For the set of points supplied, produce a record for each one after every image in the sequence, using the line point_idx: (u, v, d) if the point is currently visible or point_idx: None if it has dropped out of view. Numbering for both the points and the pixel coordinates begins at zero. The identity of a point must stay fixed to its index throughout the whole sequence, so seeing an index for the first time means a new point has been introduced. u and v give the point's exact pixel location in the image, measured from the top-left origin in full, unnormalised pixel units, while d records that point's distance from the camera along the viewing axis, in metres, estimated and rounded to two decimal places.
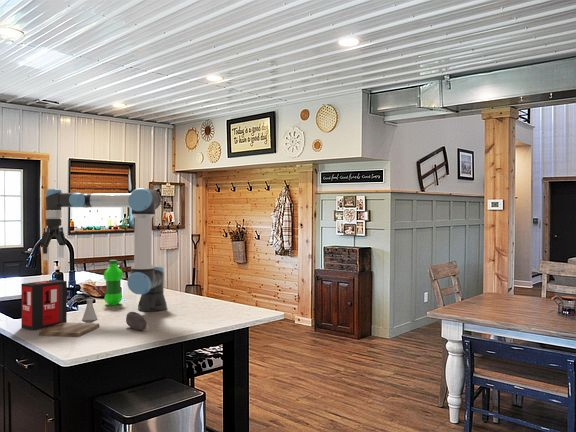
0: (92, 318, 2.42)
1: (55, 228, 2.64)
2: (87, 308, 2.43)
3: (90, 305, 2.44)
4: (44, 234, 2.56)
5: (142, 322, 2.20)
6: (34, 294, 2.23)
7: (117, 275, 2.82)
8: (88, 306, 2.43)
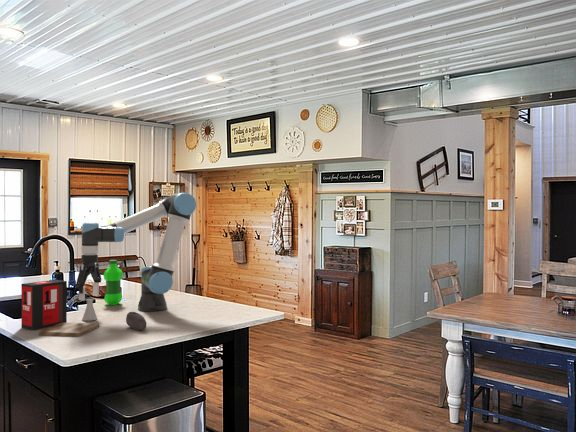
0: (92, 318, 2.42)
1: (91, 265, 2.44)
2: (87, 308, 2.43)
3: (90, 305, 2.44)
4: (80, 272, 2.37)
5: (142, 322, 2.20)
6: (34, 294, 2.23)
7: (117, 275, 2.82)
8: (88, 306, 2.43)
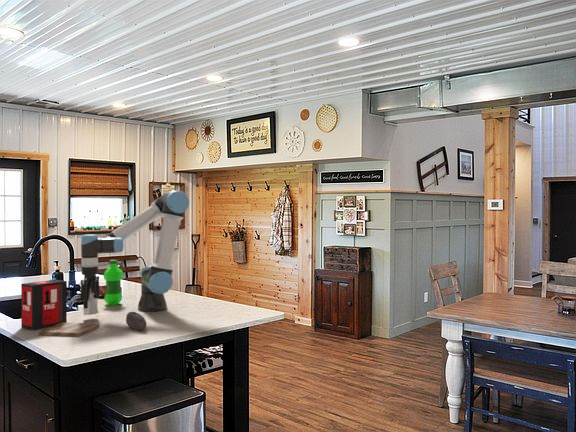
0: (93, 312, 2.43)
1: (92, 277, 2.44)
2: None
3: (91, 299, 2.44)
4: (82, 287, 2.38)
5: (142, 322, 2.20)
6: (34, 294, 2.23)
7: (117, 275, 2.82)
8: (89, 300, 2.43)
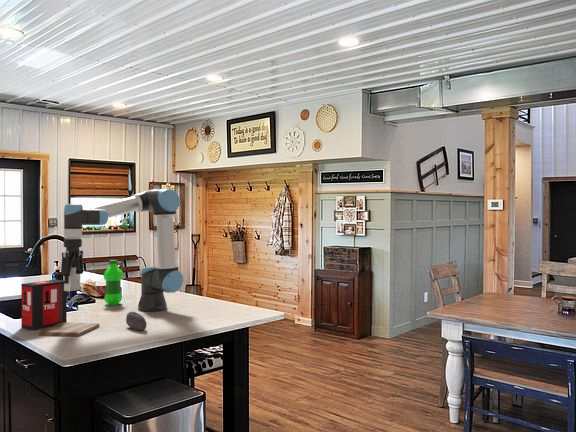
0: (75, 288, 2.22)
1: (74, 250, 2.25)
2: None
3: (73, 274, 2.24)
4: (63, 260, 2.18)
5: (142, 322, 2.20)
6: (34, 294, 2.23)
7: (117, 275, 2.82)
8: (71, 275, 2.23)
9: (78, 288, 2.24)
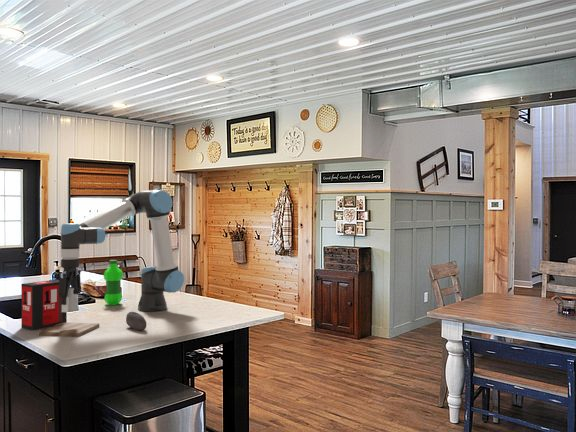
0: (72, 309, 2.19)
1: (72, 270, 2.21)
2: None
3: (70, 295, 2.20)
4: (61, 281, 2.15)
5: (142, 322, 2.20)
6: (34, 294, 2.23)
7: (117, 275, 2.82)
8: (68, 296, 2.20)
9: (76, 309, 2.21)
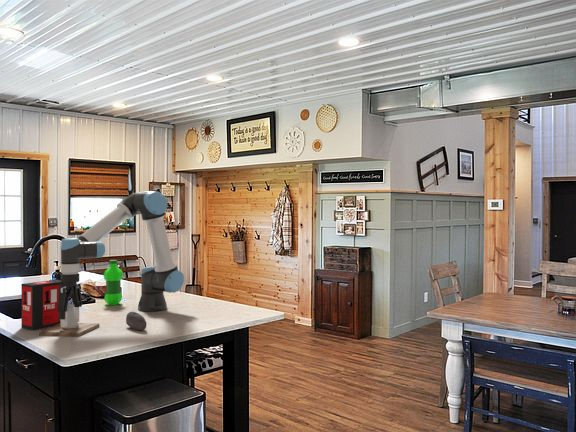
0: (73, 326, 2.19)
1: (72, 285, 2.21)
2: (67, 315, 2.20)
3: (71, 311, 2.20)
4: (60, 296, 2.15)
5: (142, 322, 2.20)
6: (34, 294, 2.23)
7: (117, 275, 2.82)
8: (69, 312, 2.20)
9: (76, 325, 2.21)
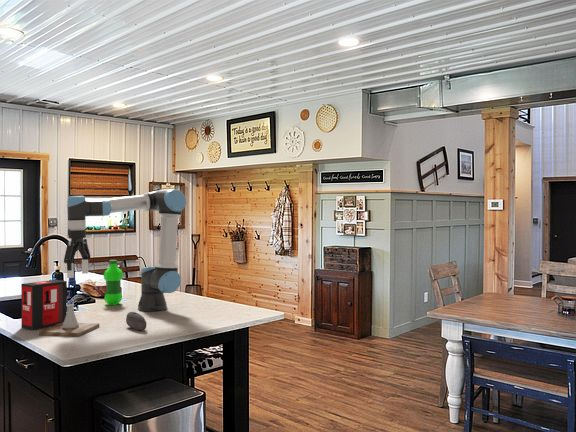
0: (73, 326, 2.19)
1: (79, 241, 2.31)
2: (67, 315, 2.20)
3: (71, 311, 2.20)
4: (68, 248, 2.24)
5: (142, 322, 2.20)
6: (34, 294, 2.23)
7: (117, 275, 2.82)
8: (68, 312, 2.20)
9: (76, 325, 2.21)
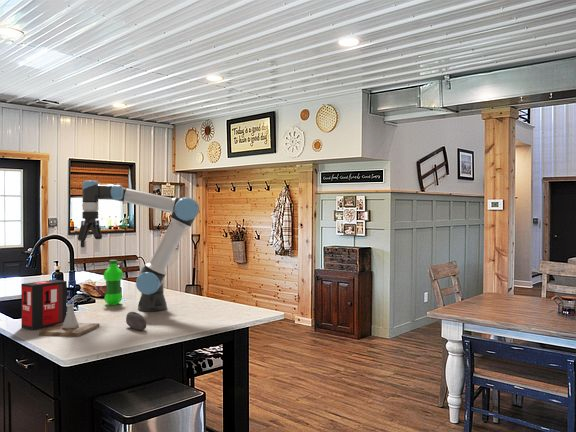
0: (73, 326, 2.19)
1: (92, 221, 2.55)
2: (67, 315, 2.20)
3: (71, 311, 2.20)
4: (82, 227, 2.47)
5: (142, 322, 2.20)
6: (34, 294, 2.23)
7: (117, 275, 2.82)
8: (68, 312, 2.20)
9: (76, 325, 2.21)
